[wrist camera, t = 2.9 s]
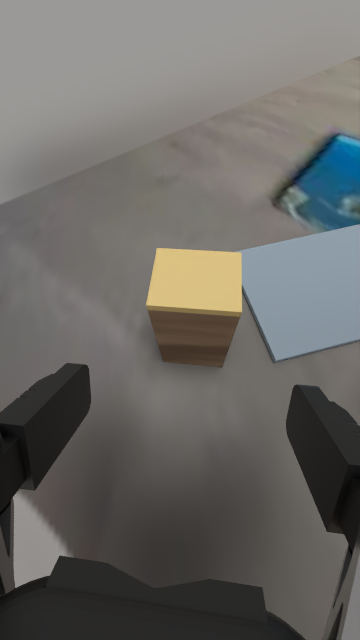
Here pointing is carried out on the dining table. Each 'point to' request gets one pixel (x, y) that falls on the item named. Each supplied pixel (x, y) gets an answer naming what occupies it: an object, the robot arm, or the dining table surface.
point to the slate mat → (305, 292)
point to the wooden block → (195, 304)
